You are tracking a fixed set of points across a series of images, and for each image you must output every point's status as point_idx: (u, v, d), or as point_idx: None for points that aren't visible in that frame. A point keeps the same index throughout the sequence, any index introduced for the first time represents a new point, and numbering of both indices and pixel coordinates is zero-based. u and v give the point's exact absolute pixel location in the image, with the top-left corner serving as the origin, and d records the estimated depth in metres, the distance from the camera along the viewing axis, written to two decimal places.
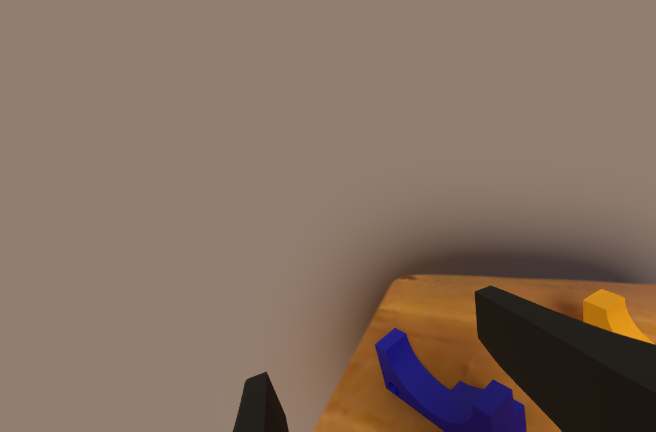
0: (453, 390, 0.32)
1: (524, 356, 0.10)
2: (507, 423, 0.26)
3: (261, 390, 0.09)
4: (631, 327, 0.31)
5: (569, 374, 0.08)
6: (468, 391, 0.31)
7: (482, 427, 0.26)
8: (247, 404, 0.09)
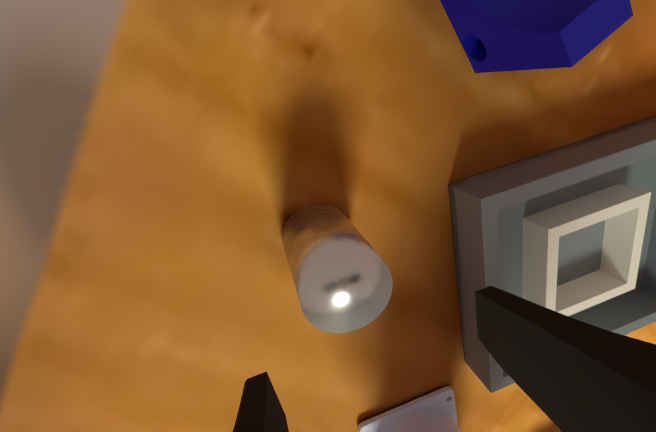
0: None
1: (524, 356, 0.10)
2: None
3: (261, 390, 0.09)
4: None
5: (569, 374, 0.08)
6: None
7: (527, 52, 0.14)
8: (247, 404, 0.09)
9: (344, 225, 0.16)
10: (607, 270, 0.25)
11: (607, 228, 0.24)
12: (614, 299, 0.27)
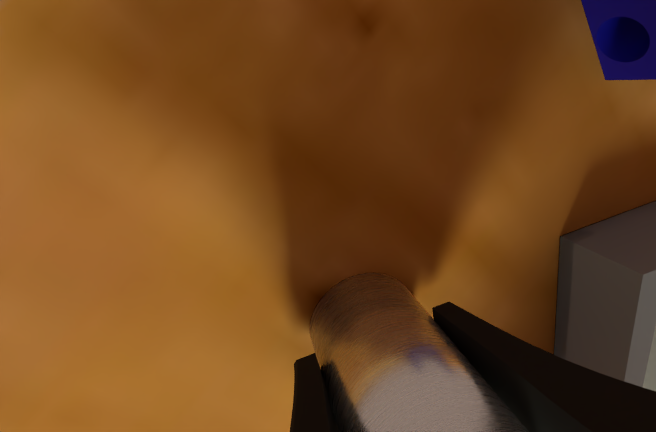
0: None
1: None
2: None
3: (314, 369, 0.09)
4: None
5: (514, 398, 0.08)
6: None
7: None
8: (303, 382, 0.09)
9: (431, 336, 0.09)
10: None
11: None
12: None
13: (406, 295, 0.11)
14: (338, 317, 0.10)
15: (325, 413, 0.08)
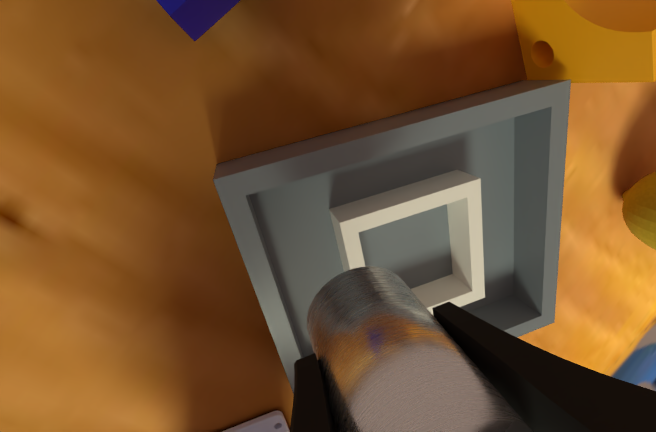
0: None
1: None
2: None
3: (314, 369, 0.09)
4: None
5: (514, 398, 0.08)
6: None
7: None
8: (302, 382, 0.09)
9: (423, 327, 0.09)
10: (457, 275, 0.21)
11: (450, 224, 0.20)
12: (478, 309, 0.23)
13: (400, 287, 0.11)
14: (332, 312, 0.10)
15: (325, 413, 0.08)
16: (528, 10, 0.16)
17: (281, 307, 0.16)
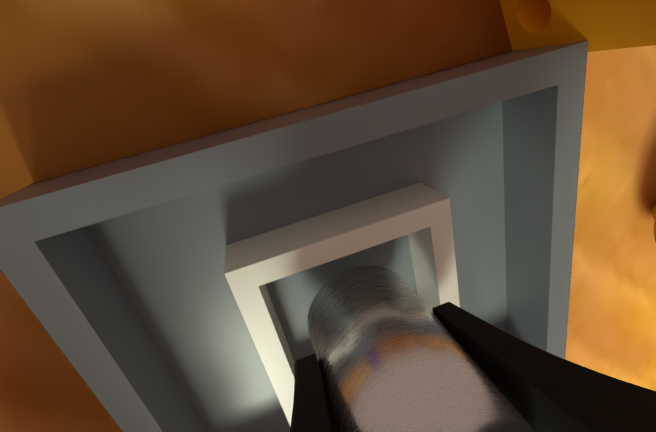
0: None
1: None
2: None
3: (314, 369, 0.09)
4: None
5: (514, 398, 0.08)
6: None
7: None
8: (302, 382, 0.09)
9: (423, 326, 0.09)
10: None
11: (414, 259, 0.14)
12: None
13: (400, 286, 0.11)
14: (332, 312, 0.10)
15: (325, 413, 0.08)
16: None
17: (139, 404, 0.11)
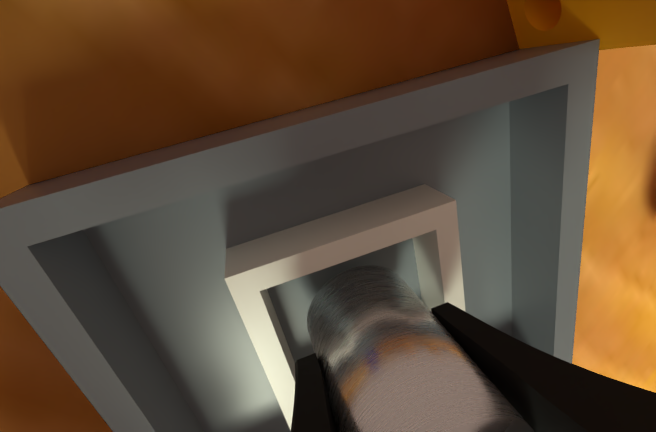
0: None
1: None
2: None
3: (314, 369, 0.09)
4: None
5: (512, 399, 0.08)
6: None
7: None
8: (303, 382, 0.09)
9: (423, 326, 0.09)
10: None
11: (418, 262, 0.14)
12: None
13: (400, 286, 0.11)
14: (332, 312, 0.10)
15: (326, 413, 0.08)
16: None
17: (137, 412, 0.10)
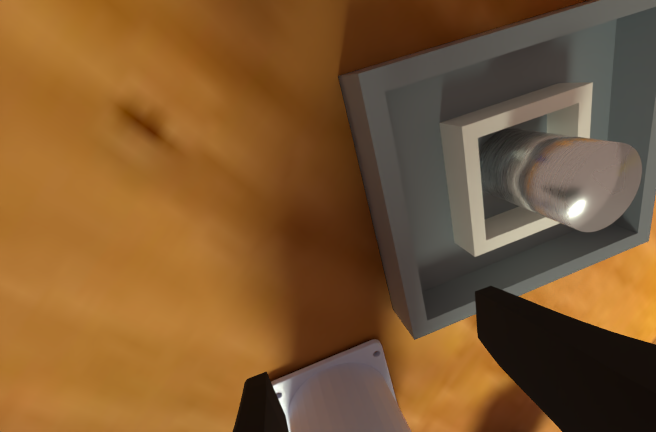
0: None
1: (524, 356, 0.10)
2: None
3: (261, 390, 0.09)
4: None
5: (569, 374, 0.08)
6: None
7: None
8: (247, 404, 0.09)
9: (567, 135, 0.17)
10: None
11: None
12: (568, 234, 0.23)
13: None
14: (503, 145, 0.18)
15: None
16: None
17: (405, 213, 0.17)
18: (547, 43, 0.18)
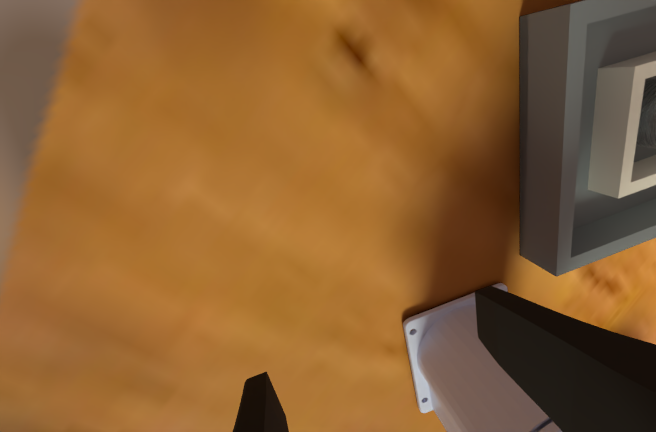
0: None
1: (524, 356, 0.10)
2: None
3: (261, 390, 0.09)
4: None
5: (569, 374, 0.08)
6: None
7: None
8: (247, 404, 0.09)
9: None
10: None
11: None
12: None
13: None
14: None
15: None
16: None
17: (576, 147, 0.18)
18: None
